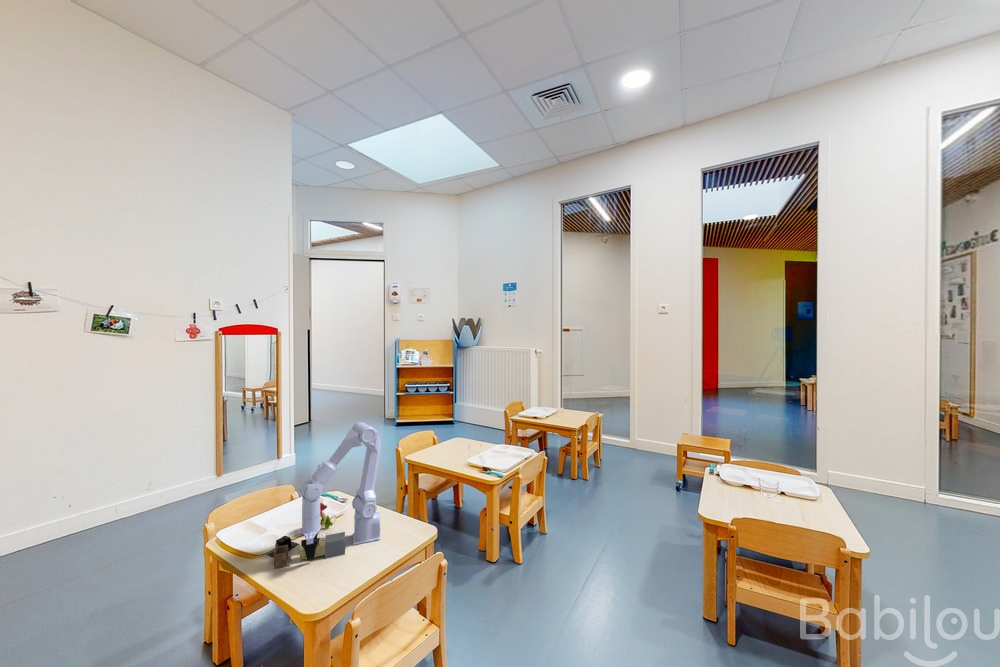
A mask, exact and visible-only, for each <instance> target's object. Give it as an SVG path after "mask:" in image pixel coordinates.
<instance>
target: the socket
mask: <svg viewBox="0 0 1000 667" xmlns="http://www.w3.org/2000/svg"><path fill="white" fill-rule="evenodd" d="M291 561H292V555H291V554H290V555H289V552H288V545H284V546H279V547H278V544H276V546H275V545H274V558H273V570H277V569H282V568H286V567H290V565H291Z"/></svg>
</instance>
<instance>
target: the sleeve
mask: <svg viewBox="0 0 1000 667" xmlns="http://www.w3.org/2000/svg"><path fill="white" fill-rule="evenodd" d="M324 540H325V555H324V558H325V559H330V558H334V557H340V556H345V555H346V532H345V531H343V532H335V533H332V534H331V533H330V534H326V535H325V539H324Z"/></svg>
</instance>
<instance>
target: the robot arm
mask: <svg viewBox="0 0 1000 667" xmlns="http://www.w3.org/2000/svg"><path fill="white" fill-rule="evenodd" d="M363 445H364V446H365V447H366V450H365V455H364V456H365V458H364V463H363V469H362V474H361V480H360V485H359V486H360V487H359V488H358V490H356V492H355V496H354V497H353V500H352V501H351V502H352V503H351V505H352V508H353V509H354V517H353V518H354V528H353V529H354V530H353V531H354V532H353V533H352V537H353V538H352V539H353V540H352V541H353V545H361V544H365V543H369V542H375V541H380V540H381V516H380V512H379V511H377V510H378V506H377V496H376V492H375V487H376V482H377V475H378V471H379V470H378V469H379V464H380V462H379V461H380V457H381V453H382V445H383V444H382V441H381V438H380V436H379V431H378V430H376V429H375V428H374V427H373V426H370V425H369V424H367V423H365V422H364V421H359V422H355V424H353V425H352V427H351V428H350V429H349V430H348V431H347V433H346V436H345V438H343V440H342V441H341V443H339V446H338V447H337V448H336V450H335V451H334V453H333V454H332V455H331V456H330V458H329V459H327V460H326V461H323V462H322V463H319V464H318V465H317V469H316V470H315V471H314V473H313V474H312V475H311V476H310V477H309V478H308V479H307V480H306V481H304V482H303V483H302V485H301V486H300V488H299V492H300V494H301V497H302V499H301V500H302V504H301V527H300V528H298V532H297V533H298V534H302V535H303V537H304V538H305V539H301V541H300V545H302V547H303V548H304V550H305V553H306V558H307V559H306V560H307V561H310V560H313V559H315V557H314V556H315V551H316V547H317V544H318V543H319V541H320V537H318V535H319V533H320V530H322V528H321V525H320V519H321V516H320V503H321V496H322V495H323V493H324V488H325V486H326V485H327V484H328V483H329V481H331V480H330V479H331V478H333V476H334V475H335V474H336V472H337V467H338V464H340V463H341V461H342V460H343V459H344V458H345V457H346V455H347V454H348V453H349V452H350V451H351V450H352V449H353V448H357V447H361V446H363Z"/></svg>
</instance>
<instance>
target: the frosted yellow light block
mask: <svg viewBox="0 0 1000 667" xmlns="http://www.w3.org/2000/svg"><path fill="white" fill-rule="evenodd" d="M321 556H325V539H324V540H319V543H318V544H317V547H316V551H315V556H314V558H317V557H321ZM300 560H301V561H302V560H307V558H306V553H305V550H304V548H303V547H302V545H301V544H300V545H299V561H300Z"/></svg>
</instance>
